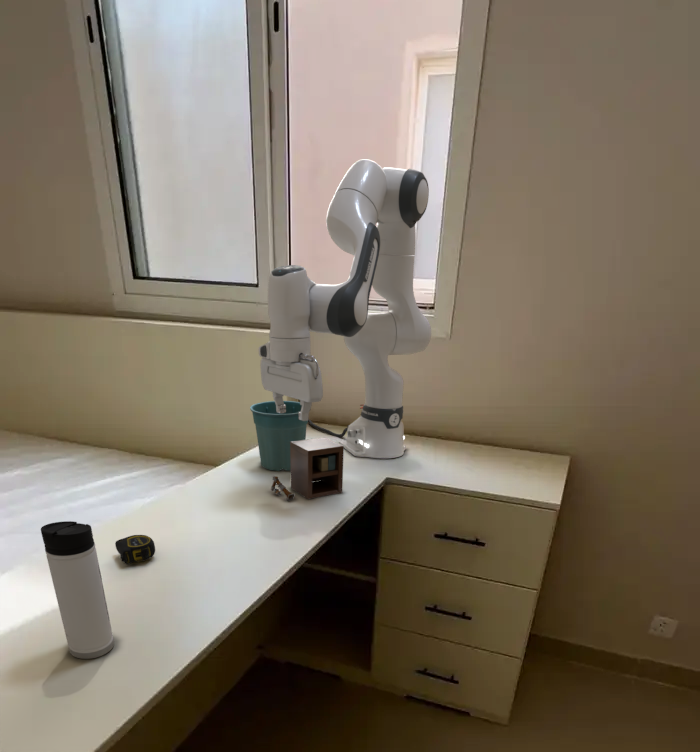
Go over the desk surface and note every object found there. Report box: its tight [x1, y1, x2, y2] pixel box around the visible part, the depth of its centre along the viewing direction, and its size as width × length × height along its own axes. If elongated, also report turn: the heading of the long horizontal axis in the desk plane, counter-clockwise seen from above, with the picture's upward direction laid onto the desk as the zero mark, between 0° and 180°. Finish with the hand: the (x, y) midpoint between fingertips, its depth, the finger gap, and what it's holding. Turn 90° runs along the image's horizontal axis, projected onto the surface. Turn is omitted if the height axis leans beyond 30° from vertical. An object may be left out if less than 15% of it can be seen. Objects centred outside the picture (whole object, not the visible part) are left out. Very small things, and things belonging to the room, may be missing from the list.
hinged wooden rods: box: [270, 475, 296, 502], centre depth 149 cm, size 2×8×4 cm, turn 43°
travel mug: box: [40, 520, 115, 660], centre depth 85 cm, size 6×7×20 cm
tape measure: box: [114, 534, 156, 565], centre depth 116 cm, size 7×7×4 cm
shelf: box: [290, 436, 345, 500], centre depth 151 cm, size 9×10×12 cm
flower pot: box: [249, 400, 312, 472], centre depth 167 cm, size 16×16×16 cm
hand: (292, 416), depth 138 cm, fingers open, 8 cm apart
